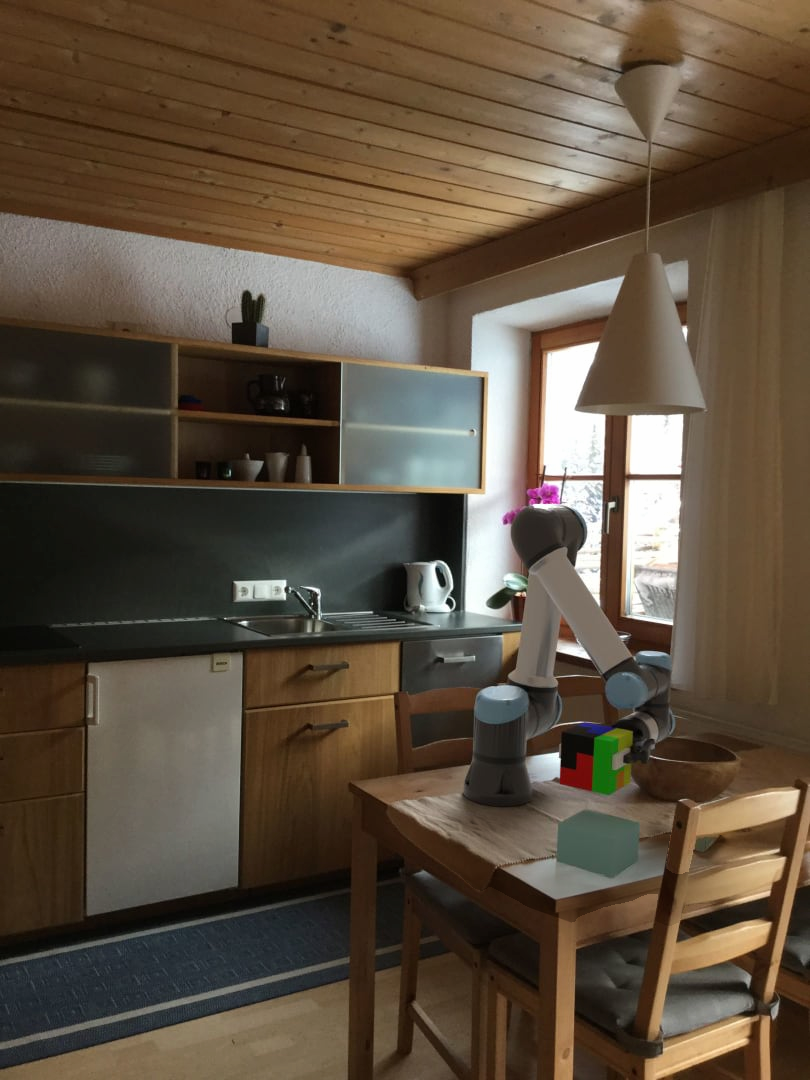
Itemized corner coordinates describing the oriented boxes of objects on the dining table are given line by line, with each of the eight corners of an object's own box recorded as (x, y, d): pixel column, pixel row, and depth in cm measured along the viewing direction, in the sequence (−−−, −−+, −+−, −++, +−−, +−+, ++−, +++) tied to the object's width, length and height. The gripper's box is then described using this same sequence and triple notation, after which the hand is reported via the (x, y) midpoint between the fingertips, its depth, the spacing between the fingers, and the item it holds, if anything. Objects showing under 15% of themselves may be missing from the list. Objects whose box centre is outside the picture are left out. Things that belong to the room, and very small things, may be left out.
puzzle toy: (582, 772, 185) (584, 722, 185) (630, 782, 179) (632, 731, 179) (559, 783, 177) (561, 731, 177) (608, 795, 171) (611, 741, 171)
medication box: (705, 853, 178) (706, 833, 178) (690, 850, 179) (692, 829, 179) (722, 835, 188) (723, 816, 188) (708, 832, 189) (710, 812, 189)
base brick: (556, 860, 171) (558, 823, 171) (584, 844, 180) (585, 808, 179) (611, 878, 164) (613, 839, 164) (638, 859, 173) (640, 822, 173)
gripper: (686, 762, 186) (644, 789, 168) (581, 741, 199) (532, 764, 181) (688, 725, 186) (646, 748, 168) (583, 706, 199) (533, 726, 181)
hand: (587, 756), depth 174 cm, fingers closed on puzzle toy, 10 cm apart
